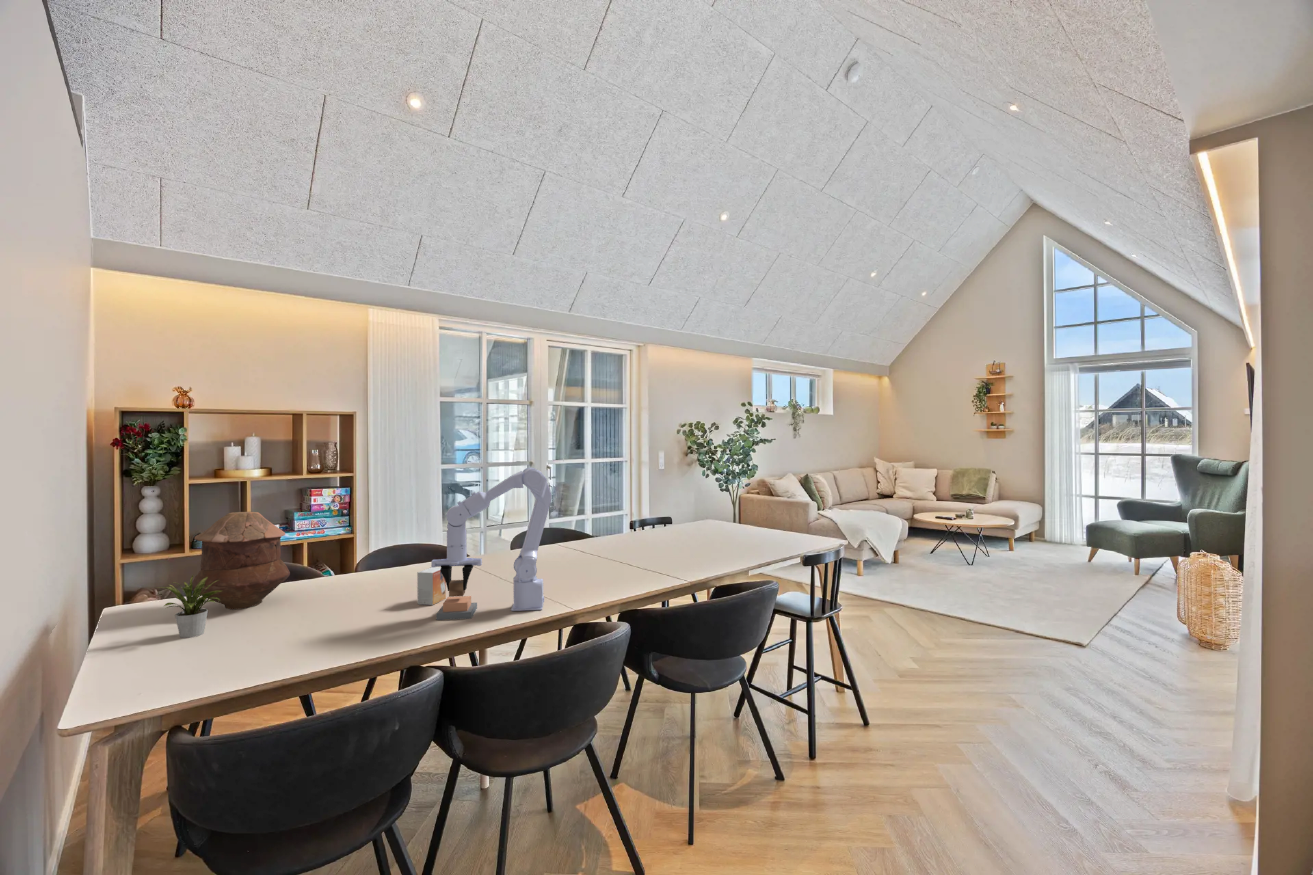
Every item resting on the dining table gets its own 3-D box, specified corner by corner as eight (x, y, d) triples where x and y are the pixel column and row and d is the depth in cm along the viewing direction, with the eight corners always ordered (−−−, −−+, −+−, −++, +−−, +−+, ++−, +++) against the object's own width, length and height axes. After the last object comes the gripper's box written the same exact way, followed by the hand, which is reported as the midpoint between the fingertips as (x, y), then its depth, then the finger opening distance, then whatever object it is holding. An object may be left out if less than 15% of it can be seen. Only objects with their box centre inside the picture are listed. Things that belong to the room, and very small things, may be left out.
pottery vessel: (177, 621, 172) (176, 519, 172) (207, 598, 196) (207, 509, 195) (279, 611, 181) (279, 514, 181) (296, 590, 205) (296, 505, 205)
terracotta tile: (471, 603, 182) (471, 595, 182) (467, 610, 175) (467, 602, 175) (447, 604, 181) (447, 596, 181) (443, 611, 174) (443, 603, 174)
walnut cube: (465, 592, 180) (465, 579, 180) (462, 596, 176) (462, 582, 176) (451, 593, 180) (451, 580, 179) (448, 596, 176) (448, 583, 176)
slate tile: (477, 610, 183) (477, 602, 183) (471, 620, 174) (471, 612, 174) (444, 611, 182) (444, 603, 182) (436, 622, 172) (436, 613, 172)
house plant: (164, 649, 149) (164, 585, 149) (144, 639, 156) (143, 578, 156) (229, 633, 161) (228, 574, 161) (207, 624, 169) (206, 568, 168)
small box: (432, 605, 187) (432, 572, 187) (416, 604, 188) (416, 572, 188) (446, 598, 195) (446, 567, 195) (431, 597, 196) (431, 566, 196)
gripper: (428, 548, 173) (428, 594, 173) (479, 547, 175) (479, 592, 175) (434, 544, 180) (434, 587, 180) (482, 542, 182) (483, 586, 182)
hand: (457, 589), depth 178 cm, fingers closed on walnut cube, 4 cm apart
